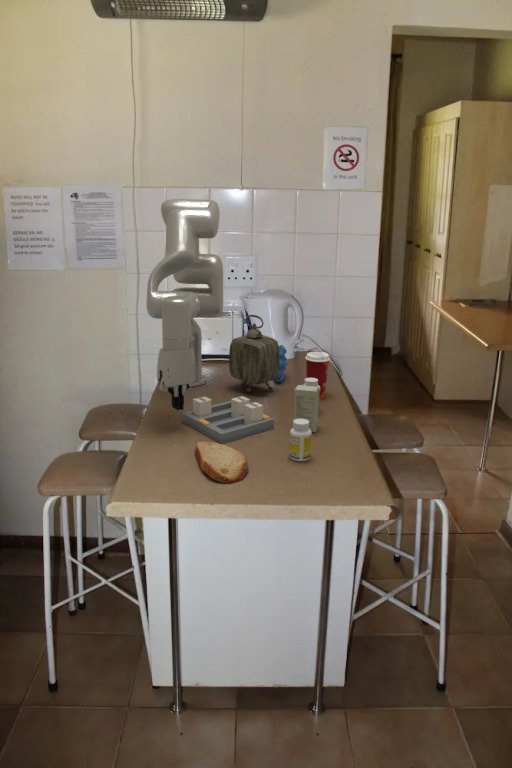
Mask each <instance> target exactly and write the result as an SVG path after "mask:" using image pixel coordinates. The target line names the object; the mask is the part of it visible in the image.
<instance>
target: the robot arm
mask: <svg viewBox="0 0 512 768" xmlns="http://www.w3.org/2000/svg"><path fill="white" fill-rule="evenodd" d="M160 212H161V217H162V220H163V222H164V225H165V230H166V231H165V250H164V252H165V254H164V258H163V259H161V260H160V261H159V262H158V263H157V264H156V265H155V267H154V268H153V270H152V271H151V273H150V274H149V277H148V281H147V288H146V311H147V314H148V315H149V317H151V318H153V319H158V320H159V319H160V320H161V327H162V329H161V330H162V331H161V333H162V334H161V336H162V347H161V348H159V352H158V356H157V365H156V382H157V384H159V387H158V388H159V391H161V392H165V393H169V394H170V395H171V407H172V408H173V409H174V410H177V411H180V410H181V411H182V410H184V405H185V395H186V394H187V391H188V390H189V388H191V387H192V388H193V387H199V386H202V385H204V384H205V383H206V382H207V377H206V376H205V375H204V374H202V371H203V370H202V329H201V327H200V325H199V324H198V322H197V321H196V320H195V319H196V318H207V319H208V318H218V317H220V316H221V315H222V314H223V310H224V267H223V260H222V259H221V257H220V256H219V255H217V254H213V253H201V252H200V239H209V240H210V239H214V238H215V237H216V236H217V235H218V231H219V225H220V213H221V212H220V207H219V204H218V202H216V201H215V200H213V199H195V198H194V199H192V198H171V199H166V200H164V201H163V202H162V203H161V205H160ZM172 275H173V279H174V281H175V282H176V283H179V284H185V285H207V286H208V287H177V288H174V289H172V290H158V289H159V286H160V284H161V283H162V281H164V280H165V279H166V278H168V277H170V276H172Z"/></svg>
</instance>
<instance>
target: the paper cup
mask: <svg viewBox="0 0 512 768" xmlns="http://www.w3.org/2000/svg"><path fill="white" fill-rule="evenodd" d="M305 360H306V362H305V363H306V364H305V365H306V378H316V379H318V385H319V386H320V400H322V399H325V395H326V389H327V388H326V387H327V381H328V380H327V378H328V371H329V361H331V358H330V355H329V354H328V353H327V352H324V351H310V352H307V353H306V356H305Z"/></svg>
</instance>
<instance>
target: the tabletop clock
mask: <svg viewBox="0 0 512 768" xmlns="http://www.w3.org/2000/svg"><path fill="white" fill-rule="evenodd" d="M249 318H256V319H259V320H260V322H261V325H259V326H257V324H256V323H253V324H252V325H251V324H250V323H248V319H249ZM245 324H246V325H247V326H248V327H249V328H251V329H249V330H247V332H246V334H245V335H242V336H238V337H236V338H233V339H232V341H231V343H230V346H229V352H228V353H229V354H228V357H229V358H228V363H229V364H228V367H229V374H230V377H232V378H234V379H236V380H239V381H242V385H243V386H246V385H247V384H248V387H247V388H246V389H245V390H246V392H247V393H251V392H252V388H251V386H252V385H265V386H266V387H267V388H268V390H267V391H268V392H270V393H271V392H273V391H274V387H272V386H270V384H269V382H271V381H273V380H276V379H275V378H276V377H277V375H278V371H279V363H280V354H279V346H280V345H279V342H278V340H277V339H275V338H273V337H271V336H268V335H264V334H263V333H262V331H261V330H260V329H261V328H263V326H264V320H263V319H262V317H261V316H259V315H256V314H249V315H247V316H246V318H245Z"/></svg>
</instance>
